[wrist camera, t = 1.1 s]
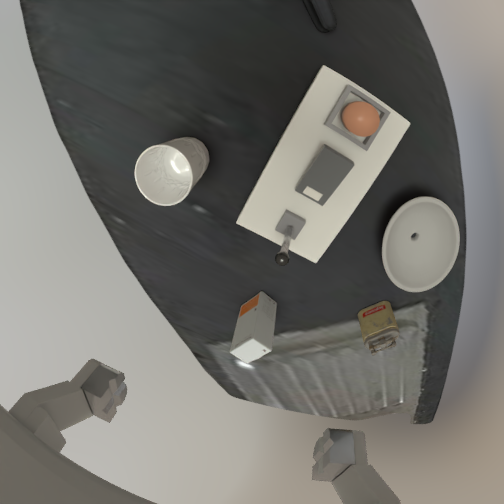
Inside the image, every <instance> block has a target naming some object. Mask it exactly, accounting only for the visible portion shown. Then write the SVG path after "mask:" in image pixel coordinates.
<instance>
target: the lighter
mask: <svg viewBox="0 0 504 504" xmlns="http://www.w3.org/2000/svg"><path fill="white" fill-rule="evenodd" d="M358 319H359V322H360V327H361V332H362V337H363V342H364V345H365V347H366V348H367V349H369V350H371V353H372V355H375V354H376V353H377V352H379V351H381V350H384V349H387V348H389V347H390V348H392V347H395V346H396V342H395V340H396V339H397V338H398V337H399V334H400V333H399V329H398V326H397V323H396V320H395V317H394V314H393V311H392V308H391V304H390V303H389V302H388V301H381V302H379V303H377V304H374V305H372V306H369V307H367V308H365V309H362V310H361V311H360V312H359V313H358ZM389 343H392V344H391V345H390V346H388V347H387V344H389ZM379 347H381V349H380V350H377V351H375V349H376V348H379ZM382 348H383V349H382Z"/></svg>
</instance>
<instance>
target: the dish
mask: <svg viewBox="0 0 504 504" xmlns="http://www.w3.org/2000/svg"><path fill="white" fill-rule="evenodd" d="M413 233H416V236H415V237H411V236H412V234H413ZM459 242H460V234H459V227H458V223H457V220H456V218H455V216H454V214H453V212H452V211H451V209H450V208H449V207H448V206H447V205H446V204H445V203H444V202H442V201H441V200H439V199H436V198H433V197H427V196H423V197H417V198H414V199H412V200H410V201H408V202H406V203H405V204H403V205H402V206H401V207H400V208H399V209H398V210H397V211H396V212H395V214H394V215H393V216H392V218H391V219H390V221H389V223H388V225H387V228H386V230H385V233H384V237H383V242H382V260H383V264H384V268H385V271H386V273H387V275H388V276H389V278H390V279H391V281H392V282H393V283H394V284H395V285H396V286H398V287H399V288H401V289H403V290H406V291H409V292H421V291H425V290H428V289H430V288H432V287H434V286H436V285H437V284H438V283H440V282H441V281H442V280H443V279H444V278H445V277H446V276H447V274H448V273H449V271H450V270H451V268H452V266H453V265H454V262H455V260H456V257H457V254H458V250H459Z"/></svg>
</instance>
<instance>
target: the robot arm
mask: <svg viewBox="0 0 504 504" xmlns="http://www.w3.org/2000/svg"><path fill="white" fill-rule="evenodd" d="M124 379H125V376H124V373H122V372H120V371H117V370H115V369H113V368H111V367H109V366H107V365H105V364H103V363H101V362H99V361H97V360H95V359H91V360H89V361H88V362H87V363H86V364H85V365H84V367H83V368H82V369H81V370H80V371H79V372H78V373H77V375H76V376H75V377H74V378H73V379H72V380H71V381H70V382H69V381H65V382H62V383H58V384H55V385H52V386H49V387H46V388H42V389H38V390H35V391H32V392H28V393H25V394H24V395H23V396H22V397H21V398H20V399H19V400H18V402H17V403H16V404H15V405H14V406H13V407H12V408H11V410H9V412H8V411H6V410H5V409H4V408H3V407H2V406H1V405H0V504H157V503H154V502H151V501H149V500H146V499H144V498H141V497H139V496H137V495H135V494H132V493H130V492H128V491H126V490H124V489H121V488H120V487H117V486H115V485H113V484H111V483H109V482H108V481H106V480H104V479H102V478H100V477H98V476H96V475H95V474H93V473H91V472H89V471H87V470H86V469H84V468H83V467H81V466H79V465H78V464H76V463H74V462H73V461H71V460H70V459H68V458H67V457H65V456H63V455H62V454H61V453H60V451H61V450H62V448H63V447H64V445H65V444H66V441H65V439H64V437H63V436H62V434H61V433H60V431H62V430H64V429H66V428H68V427H70V426H72V425H74V424H76V423H78V422H81V421H83V420H85V419H87V418H89V417H91V416H93V415H95V416H97V417H99V418H101V419H103V420H105V421H107V422H109V423H110V422H111V420H112V418H113V417H114V415H115V414H116V412H117V411H116V407H117V406H119V405H121V404H122V403H123V401H124V400H125V397H126V394H127V386H126V384H125V383H124V382H123V381H124ZM313 458H314V459H315V461H316V464H315V465H314V466H313V470H312V480H319V481H330V482H332V485H333V486H334V488H335V490H336V492H337V494H338V495H339V497H340V499H341V500H342V502H343V504H400V500H399V499H398V497H397V496H396V495H395V494H394V492H393V491H392V490H391V489H390V488H389V487H388V485H387V484H386V483H385V482H384V480H383V479H382V478H381V477H380V475H379V474H378V473H377V472H376V471H375V469H374V468H373V467H372V466H371V465H368V462H367V453H366V441H365V434H364V432H363V431H352V430H342V429H330V428H329V429H326V430H325V431H324V433H323V437H320V438H319V439H318V441H317V442H316V445H315V448H314V453H313Z"/></svg>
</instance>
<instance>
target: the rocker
mask: <svg viewBox="0 0 504 504" xmlns="http://www.w3.org/2000/svg"><path fill="white" fill-rule="evenodd" d="M353 167H354V162H353V161H352V160H350V159H348V158H347V157H345V156H344V155H342V154H340V153H339V152H337V151H336V150H334V149H332V148H331V147H329V146H327V145H326V144H324V146H323V147H322V149H321V150H320V152H319V153H318V154H317V156H316V157H315V159H314V160H313V162H312V163H311V165H310V166H309V168H308V169H307V171H306V172H305V174H304V175H303V177H302V178H301V180H300V181H299V183H298V184H297V186H296V188H295V191H296V192H298V193H300V194H302V195H303V196H305V197H307V198H309V199H311V200H312V201H314V202H316V203H318V204H320V205H321V206H323V205H324V204H325V203H326V201H327V200H328V199H329V198H330V196H331V195H332V194H333V193H334V191H335V190H336V189H337V187H338V186H339V185H340V184H341V182H342V181H343V180H344V178H345V177H346V176H347V175H348V173H349V172H350V171H351V169H352V168H353Z"/></svg>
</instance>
